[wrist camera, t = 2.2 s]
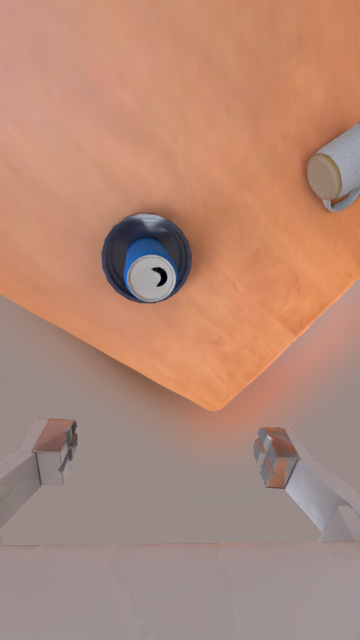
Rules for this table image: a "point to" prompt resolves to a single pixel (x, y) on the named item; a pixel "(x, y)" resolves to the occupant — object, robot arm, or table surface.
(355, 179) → the ceramic mug
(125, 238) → the bowl
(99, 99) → the table surface
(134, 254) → the beverage can
